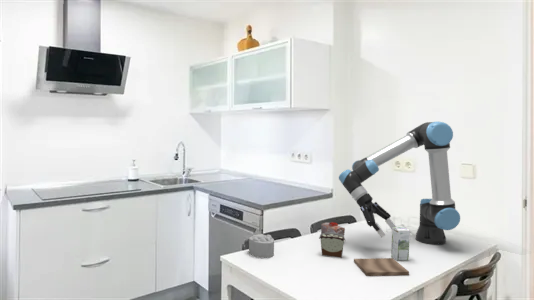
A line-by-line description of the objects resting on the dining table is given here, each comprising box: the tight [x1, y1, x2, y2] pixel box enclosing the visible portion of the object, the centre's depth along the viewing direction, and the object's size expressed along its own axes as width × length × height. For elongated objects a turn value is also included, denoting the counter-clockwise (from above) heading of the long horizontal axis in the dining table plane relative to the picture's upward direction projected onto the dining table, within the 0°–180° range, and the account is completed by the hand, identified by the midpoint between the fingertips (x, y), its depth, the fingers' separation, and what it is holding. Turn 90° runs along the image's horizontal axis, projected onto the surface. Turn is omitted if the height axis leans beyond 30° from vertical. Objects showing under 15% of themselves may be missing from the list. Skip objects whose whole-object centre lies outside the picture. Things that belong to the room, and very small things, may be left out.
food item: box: [320, 221, 346, 236], centre depth 196 cm, size 14×8×10 cm, turn 33°
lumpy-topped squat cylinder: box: [248, 233, 275, 259], centre depth 172 cm, size 10×13×9 cm
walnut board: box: [353, 257, 410, 277], centre depth 156 cm, size 18×16×2 cm
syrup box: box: [390, 226, 411, 262], centre depth 168 cm, size 6×6×14 cm
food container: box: [318, 233, 346, 259], centre depth 172 cm, size 12×6×10 cm, turn 71°
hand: (390, 233), depth 170 cm, fingers open, 13 cm apart
